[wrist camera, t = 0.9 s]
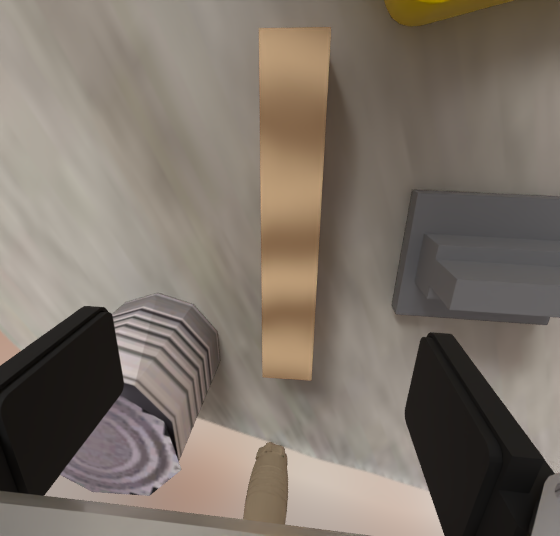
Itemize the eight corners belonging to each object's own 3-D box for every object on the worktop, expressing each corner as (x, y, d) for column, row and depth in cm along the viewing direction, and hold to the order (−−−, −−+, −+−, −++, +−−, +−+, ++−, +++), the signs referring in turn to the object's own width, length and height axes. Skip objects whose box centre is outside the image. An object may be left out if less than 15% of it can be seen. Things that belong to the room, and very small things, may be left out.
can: (244, 336, 31) (207, 444, 20) (187, 407, 35) (130, 531, 24) (140, 269, 30) (37, 346, 18) (92, 351, 33) (-17, 456, 22)
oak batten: (269, 51, 23) (258, 28, 18) (326, 51, 22) (331, 27, 18) (269, 342, 31) (262, 377, 27) (311, 345, 31) (311, 380, 26)
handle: (305, 464, 36) (302, 663, 22) (251, 469, 37) (215, 662, 24) (296, 431, 35) (285, 625, 21) (239, 438, 36) (193, 625, 22)
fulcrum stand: (412, 189, 25) (455, 209, 18) (578, 197, 24) (697, 221, 17) (391, 305, 29) (419, 363, 21) (535, 315, 28) (617, 379, 20)
